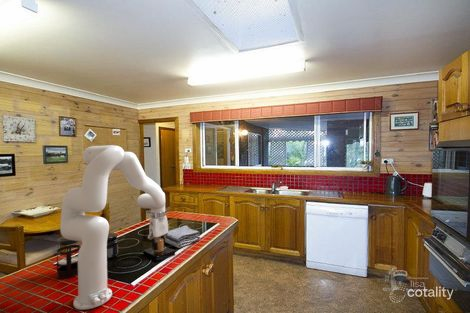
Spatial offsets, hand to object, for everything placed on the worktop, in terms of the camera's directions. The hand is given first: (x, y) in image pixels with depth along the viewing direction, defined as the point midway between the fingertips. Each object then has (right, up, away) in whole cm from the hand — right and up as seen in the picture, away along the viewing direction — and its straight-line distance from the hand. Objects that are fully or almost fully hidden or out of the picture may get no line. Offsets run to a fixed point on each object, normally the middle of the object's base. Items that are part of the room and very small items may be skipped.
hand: (158, 247), depth 131 cm
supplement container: (-27, -5, -3) cm, 27 cm away
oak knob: (0, -2, 0) cm, 2 cm away
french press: (-35, -5, -20) cm, 40 cm away
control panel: (0, -4, 0) cm, 4 cm away
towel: (+9, -4, +19) cm, 21 cm away
